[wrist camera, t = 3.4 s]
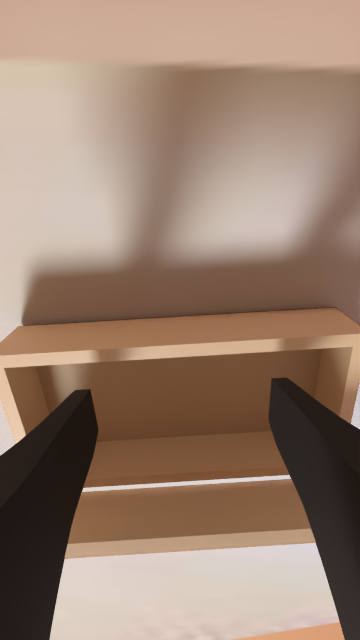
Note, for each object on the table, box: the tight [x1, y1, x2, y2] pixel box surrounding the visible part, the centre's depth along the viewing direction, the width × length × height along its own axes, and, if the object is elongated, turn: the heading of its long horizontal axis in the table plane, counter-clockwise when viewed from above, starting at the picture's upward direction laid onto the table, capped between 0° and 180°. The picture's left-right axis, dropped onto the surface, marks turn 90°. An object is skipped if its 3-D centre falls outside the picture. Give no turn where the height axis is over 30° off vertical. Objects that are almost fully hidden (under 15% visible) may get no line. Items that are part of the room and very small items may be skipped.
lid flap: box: [64, 479, 316, 559], centre depth 14 cm, size 4×15×1 cm
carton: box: [0, 307, 360, 488], centre depth 16 cm, size 8×16×3 cm, turn 93°
